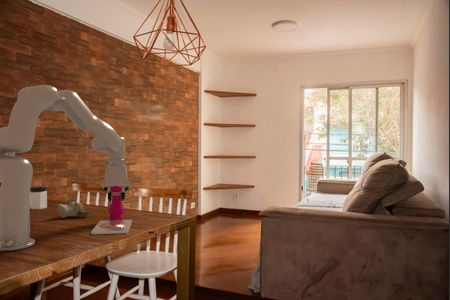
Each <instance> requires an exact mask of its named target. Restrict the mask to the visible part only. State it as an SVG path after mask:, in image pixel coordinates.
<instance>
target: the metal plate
mask: <svg viewBox="0 0 450 300" xmlns="http://www.w3.org/2000/svg"><path fill="white" fill-rule="evenodd" d="M132 223H133V220H132V219H123V220H109V219H107V220H99V221H98V223H96V225H95V226H94V228H93V229H92V230H91V232H90V233H91V236H93V235H117V234H128V233H129V232H130V231H129V230H130V227H131V225H132Z"/></svg>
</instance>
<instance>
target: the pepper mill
mask: <svg viewBox="0 0 450 300" xmlns="http://www.w3.org/2000/svg"><path fill="white" fill-rule="evenodd" d="M110 190H111V201H110V204H109V207H108V215H109V219H108V220H124V212H125V206H124V204H123V201H121V193H122V187H119V186H113V187H110Z"/></svg>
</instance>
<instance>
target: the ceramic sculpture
mask: <svg viewBox="0 0 450 300" xmlns="http://www.w3.org/2000/svg"><path fill="white" fill-rule="evenodd" d="M57 208H58V213H59V216H60V218H62V219H66V218H67V217H71V218H78V217H86V216H89V215H91V214H92V213H93V212H92V211H88V210H87V209H86V208H84V205H83V204H82V203H81V202H79V201H77V202H75V199H73V200H70V201H68V203H66V204H61V203H57Z"/></svg>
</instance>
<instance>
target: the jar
mask: <svg viewBox="0 0 450 300" xmlns="http://www.w3.org/2000/svg"><path fill="white" fill-rule="evenodd" d="M47 208H48V191H47V186H46V185H33V186H30V210H43V209H47Z"/></svg>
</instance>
